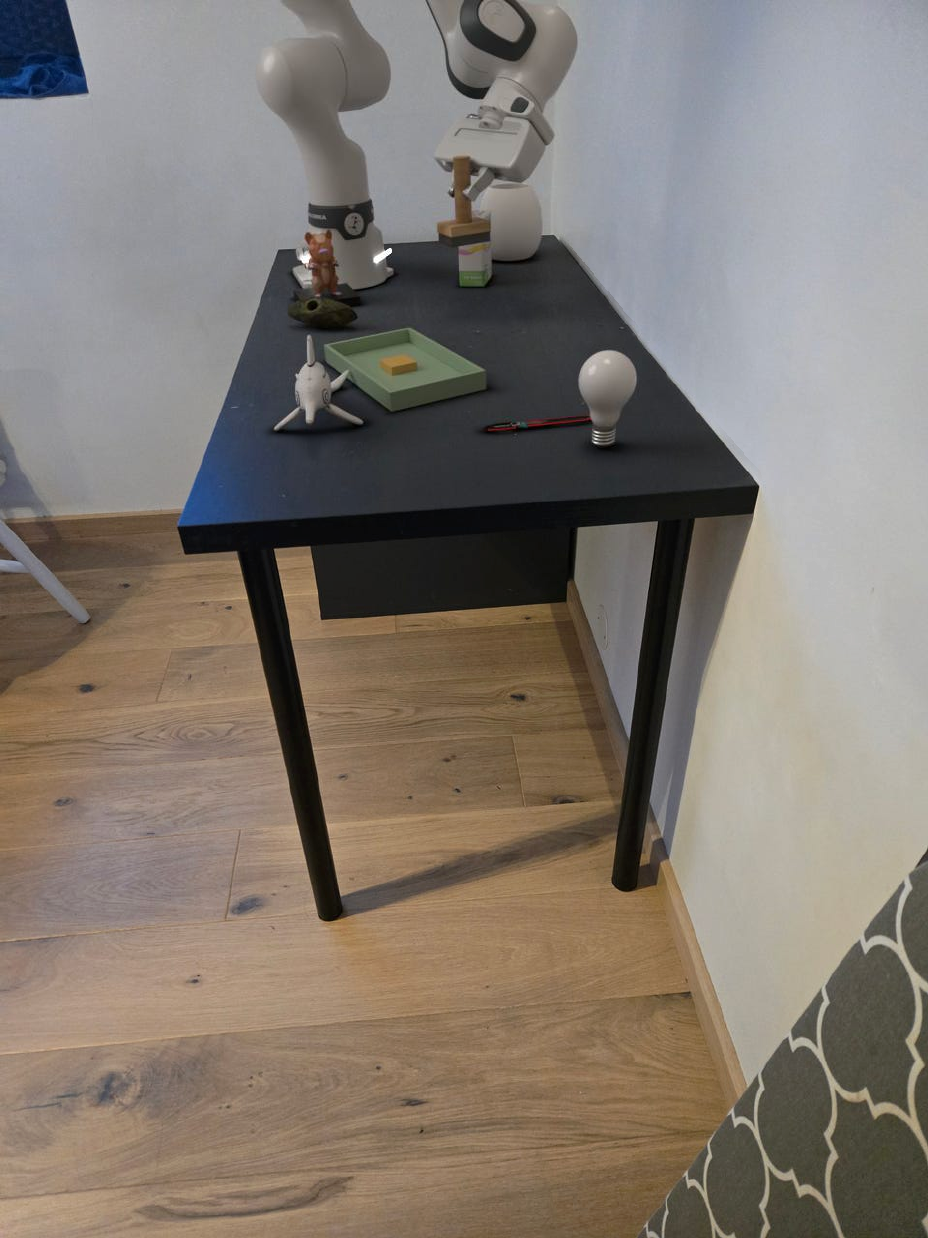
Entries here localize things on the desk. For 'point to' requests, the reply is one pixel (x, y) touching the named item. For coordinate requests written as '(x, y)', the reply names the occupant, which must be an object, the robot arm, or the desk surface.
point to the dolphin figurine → (315, 391)
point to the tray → (429, 383)
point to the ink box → (476, 259)
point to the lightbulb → (606, 392)
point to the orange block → (398, 364)
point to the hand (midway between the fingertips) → (459, 196)
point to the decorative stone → (321, 312)
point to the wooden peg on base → (463, 213)
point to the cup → (513, 220)
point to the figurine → (325, 273)
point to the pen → (532, 423)
